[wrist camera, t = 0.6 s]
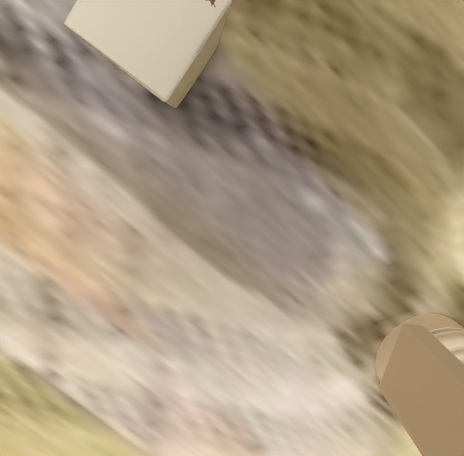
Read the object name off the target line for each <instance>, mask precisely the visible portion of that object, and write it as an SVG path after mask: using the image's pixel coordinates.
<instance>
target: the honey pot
mask: <svg viewBox="0 0 464 456" xmlns="http://www.w3.org/2000/svg"><path fill="white" fill-rule="evenodd" d="M403 323H404V324H412V325H421V326H424V327H425V328H426V329H427V330H428V331H429V332H430V333H431V334H432V335H433V336H434V337H436V338H437V339H438V340H439V341H440V342H441V343H442V344H443V345H444V346H445V347H446V348H447V349H448V350H449V351H450V352H451V353H452V354H453V355H454V356H456V357H457V358H458V359H459V360H460V361H461V362H462V363H463V364H464V328H463V327H462V326H461V325H459V324H458V323H457V322H455V321H454V320H453V319H451V318H449V317H446V316H444V315H440V314H424V315H418V316H415V317H412V318H410V319H407V320H405V321H404V322H402V323H401V324H399V325H398V326H396V327H395V328H394V329H393V330H392V331H391V332H390V333H389V334H388V335H387V336H386V337H385V338H384V340H383V342H382V343H381V345H380V346H379V349H378V352H377V355H376V359H375V370H376V373H377V377H378V379H379V380H380V382H381V380H382V377H383V374H384V372H385V369H386V367H387V364H388V361H389V359H390V356H391V353H392V351H393V348H394V346H395V343H396V340H397V338H398V335H399V333H400V330H401V327H402V325H403Z"/></svg>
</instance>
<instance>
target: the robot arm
mask: <svg viewBox="0 0 464 456" xmlns="http://www.w3.org/2000/svg"><path fill="white" fill-rule="evenodd" d="M378 388H379V389H380V391H381V393H382V394H383V396H384V397H385V399H386V400H387V402H388V403H389V405H390V406H391V408H392V409H393V411H394V413H395V414H396V416H397V417H398V419H399V420H400V422H401V423H402V425H403V426H404V428H405V430H406V431H407V433H408V434H409V436H410V437H411V439H412V440H413V442H414V443H415V445H416V447H417V448H418V450H419V451H420V453H421V454H422V456H464V364H463V363H462V362H461V361H460V360H459V359H458V358H457V357H456V356H454V355H453V354H452V353H451V352H450V351H449V350H448V349H447V348H446V347H445V346H444V345H443V344H442V343H441V342H440V341H439V340H438V339H437V338H436V337H434V336H433V335H432V334H431V333H430V332H429V331H428V330H427V329H426V328H425V327H424V326H421V325H412V324H404V323H403V325H402V327H401V330H400V333H399V335H398V338H397V340H396V343H395V346H394V348H393V351H392V353H391V356H390V359H389V361H388V364H387V367H386V369H385V372H384V374H383V377H382V380H381V382H380V385H379V387H378Z"/></svg>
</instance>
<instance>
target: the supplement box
mask: <svg viewBox="0 0 464 456" xmlns="http://www.w3.org/2000/svg"><path fill="white" fill-rule="evenodd" d="M231 3H232V0H76V2H75V4H74V6H73V8H72V9H71V11H70V13H69V15H68V17H67V18H66V20H65V22H64V24H65V25H66V26H67V27H68V28H69V29H70V30H72V31H73V32H74V33H75V34H77V35H78V36H79V37H80V38H82V39H83V40H84V41H85V42H87V43H88V44H89V45H90V46H92V47H93V48H94V49H95V50H97V51H98V52H99V53H100V54H102V55H103V56H104V57H105V58H107V59H108V60H109V61H110V62H112V63H113V64H114V65H116V66H117V67H118V68H119V69H121V70H122V71H123V72H125V73H126V74H127V75H129V76H130V77H131V78H133V79H134V80H135V81H137V82H138V83H139V84H141V85H142V86H143V87H144V88H146V89H147V90H148V91H150V92H151V93H152V94H154V95H155V96H156V97H158V98H159V99H160V100H162V101H163V102H166V103H168V104H169V105H170V106H172V107H174V108H177V107H178V106H179V104H180V103H181V101H182V100H183V99H184V97H185V96H186V94H187V93H188V91H189V90H190V88H191V87H192V86H193V84H194V83H195V81H196V80H197V78H198V77H199V75H200V73H201V72H202V70H203V69H204V67H205V66H206V64H207V62H208V61H209V59H210V58H211V56H212V54H213V53H214V51H215V50H216V48H217V47H218V43H219V40H220V37H221V34H222V31H223V28H224V24H225V22H226V18H227V15H228V12H229V9H230V6H231Z"/></svg>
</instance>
